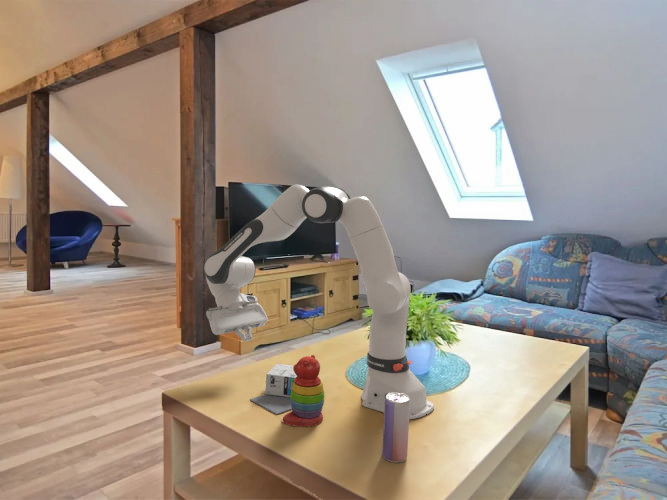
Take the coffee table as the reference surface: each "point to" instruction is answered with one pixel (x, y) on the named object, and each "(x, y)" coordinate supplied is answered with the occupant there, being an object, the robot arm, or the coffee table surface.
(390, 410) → the beverage can
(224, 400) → the coffee table surface
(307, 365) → the stacking bear
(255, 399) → the mat
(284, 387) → the light bulb box
